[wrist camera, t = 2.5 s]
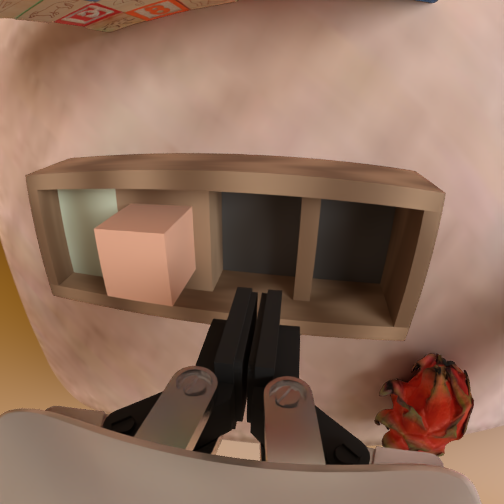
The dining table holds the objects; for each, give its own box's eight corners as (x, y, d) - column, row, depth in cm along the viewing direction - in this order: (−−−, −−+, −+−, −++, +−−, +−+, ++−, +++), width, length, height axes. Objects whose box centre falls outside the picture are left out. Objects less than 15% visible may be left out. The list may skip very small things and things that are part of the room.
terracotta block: (192, 206, 18) (164, 234, 14) (195, 268, 20) (172, 306, 16) (130, 203, 18) (93, 228, 15) (138, 262, 20) (107, 295, 17)
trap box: (415, 171, 18) (445, 193, 13) (389, 295, 22) (404, 340, 17) (70, 158, 21) (25, 175, 16) (87, 264, 25) (53, 295, 20)
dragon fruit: (394, 410, 29) (414, 315, 26) (461, 434, 23) (500, 337, 20) (353, 462, 24) (373, 364, 20) (430, 495, 18) (483, 400, 14)
